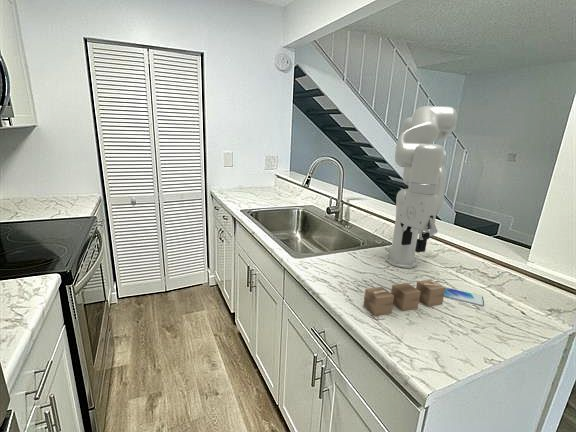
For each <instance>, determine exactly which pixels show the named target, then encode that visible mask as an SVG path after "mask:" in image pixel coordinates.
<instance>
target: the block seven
mask: <svg viewBox="0 0 576 432" xmlns="http://www.w3.org/2000/svg"><path fill="white" fill-rule="evenodd" d="M445 287H446V286H444V285H442V284H440V283H439V282H437V281H435V280H433V279H424V280H417V281H416V287H415V288H416V289H418V290H419V291H421V293H420V299H419V303H422V304H423V305H424V306H425V307H434V306H440V305H443V301H444V298H445V297H444V293H445Z"/></svg>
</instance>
